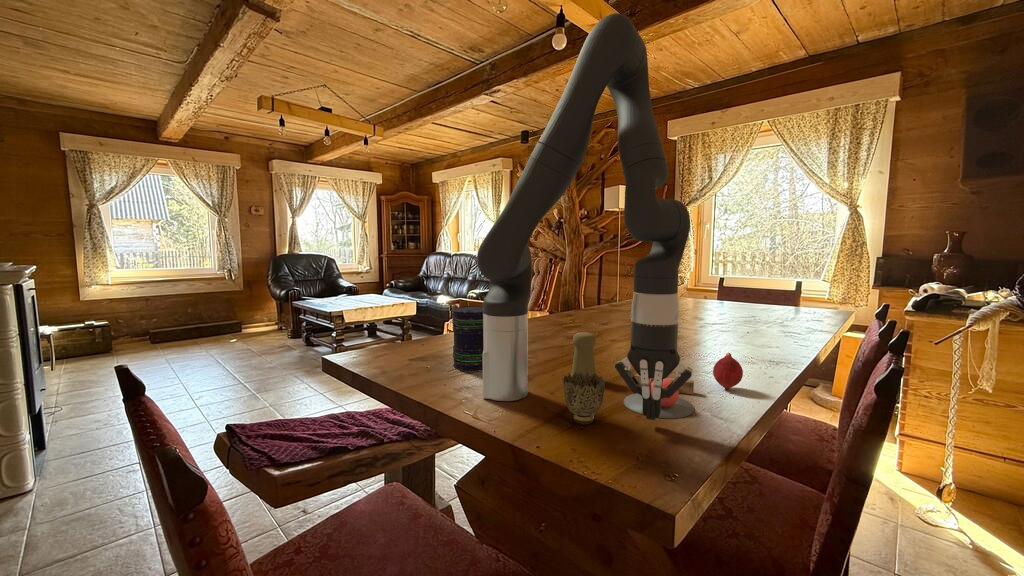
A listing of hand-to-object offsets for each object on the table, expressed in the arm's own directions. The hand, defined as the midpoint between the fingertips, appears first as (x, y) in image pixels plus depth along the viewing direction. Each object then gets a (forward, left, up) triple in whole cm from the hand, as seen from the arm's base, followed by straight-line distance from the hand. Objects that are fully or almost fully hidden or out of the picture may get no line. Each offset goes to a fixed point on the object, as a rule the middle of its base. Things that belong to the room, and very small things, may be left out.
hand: (651, 418), depth 74 cm
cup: (-11, +2, -2) cm, 12 cm away
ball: (+5, +9, +1) cm, 11 cm away
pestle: (-7, +26, -2) cm, 27 cm away
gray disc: (+5, +10, -2) cm, 11 cm away
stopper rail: (+9, +19, -2) cm, 21 cm away
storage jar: (-34, +37, -2) cm, 51 cm away
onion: (+23, +19, -2) cm, 30 cm away
